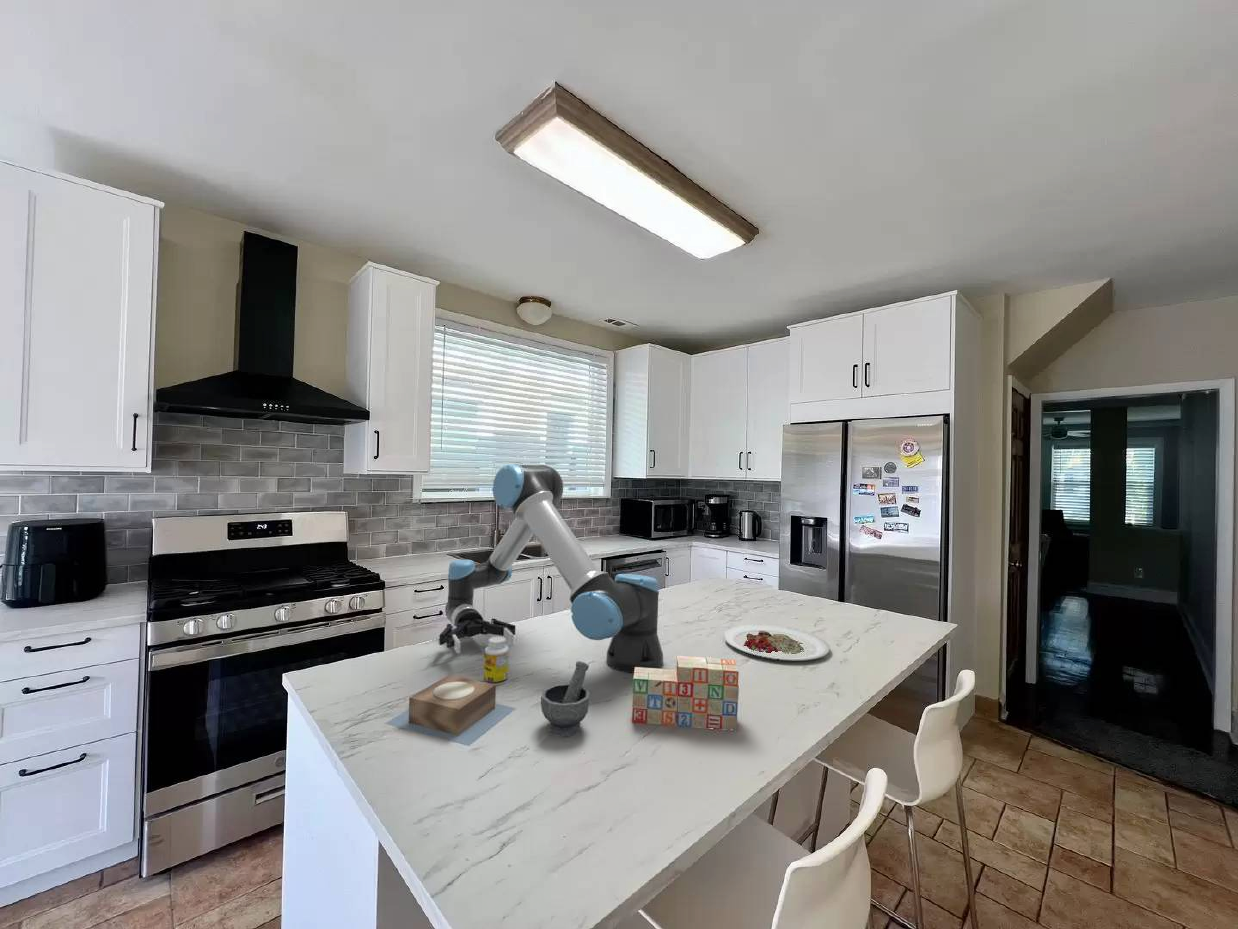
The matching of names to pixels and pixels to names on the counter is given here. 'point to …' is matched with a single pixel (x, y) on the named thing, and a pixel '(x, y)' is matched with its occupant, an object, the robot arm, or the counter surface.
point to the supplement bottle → (496, 661)
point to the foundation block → (452, 704)
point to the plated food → (776, 641)
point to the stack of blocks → (688, 694)
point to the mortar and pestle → (566, 703)
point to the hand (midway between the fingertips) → (486, 644)
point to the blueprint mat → (463, 738)
